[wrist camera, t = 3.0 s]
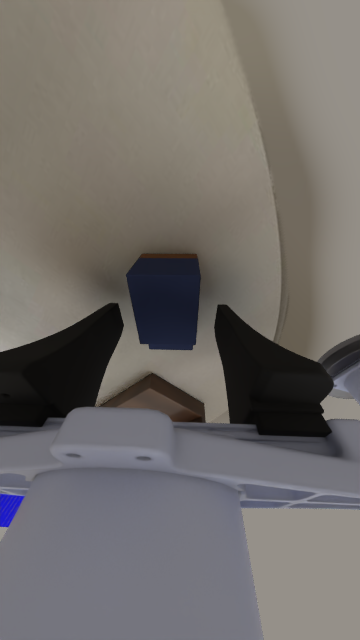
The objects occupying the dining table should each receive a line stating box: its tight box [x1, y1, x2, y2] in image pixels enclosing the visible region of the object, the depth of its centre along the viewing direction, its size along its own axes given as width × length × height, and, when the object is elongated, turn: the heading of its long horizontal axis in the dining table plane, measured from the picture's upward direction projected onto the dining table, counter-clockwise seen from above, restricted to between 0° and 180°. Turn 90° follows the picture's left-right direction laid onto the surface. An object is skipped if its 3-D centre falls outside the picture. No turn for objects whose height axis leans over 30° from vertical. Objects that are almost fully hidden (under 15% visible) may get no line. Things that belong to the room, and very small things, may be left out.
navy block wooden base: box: [126, 254, 201, 350], centre depth 13 cm, size 8×4×4 cm, turn 0°
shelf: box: [100, 373, 206, 423], centre depth 29 cm, size 36×10×4 cm, turn 134°
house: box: [0, 494, 25, 527], centre depth 42 cm, size 12×20×12 cm, turn 49°
